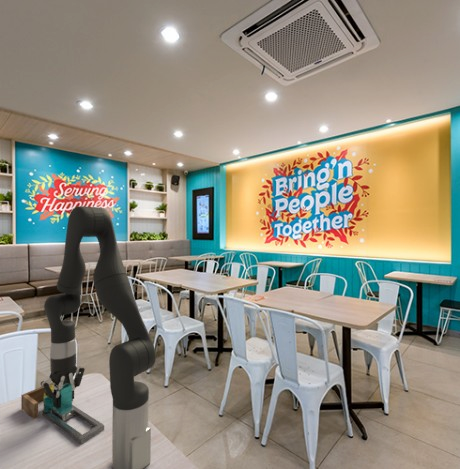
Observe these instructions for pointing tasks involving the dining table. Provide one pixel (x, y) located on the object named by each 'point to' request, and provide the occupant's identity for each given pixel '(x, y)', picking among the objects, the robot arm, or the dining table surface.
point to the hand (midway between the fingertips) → (64, 404)
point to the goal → (32, 401)
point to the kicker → (61, 404)
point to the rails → (71, 431)
